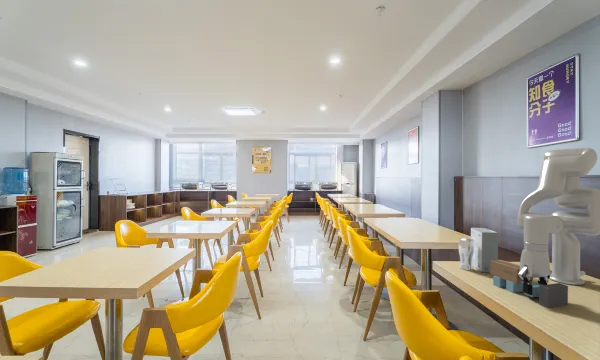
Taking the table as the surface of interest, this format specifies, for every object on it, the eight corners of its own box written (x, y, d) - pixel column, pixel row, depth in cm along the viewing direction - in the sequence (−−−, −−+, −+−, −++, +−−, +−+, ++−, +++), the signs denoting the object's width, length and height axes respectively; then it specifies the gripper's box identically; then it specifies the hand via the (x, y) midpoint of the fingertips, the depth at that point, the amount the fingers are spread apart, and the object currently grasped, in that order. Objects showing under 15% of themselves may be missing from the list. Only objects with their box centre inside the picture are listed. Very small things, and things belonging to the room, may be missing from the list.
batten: (537, 292, 117) (537, 283, 117) (545, 295, 114) (545, 285, 114) (524, 294, 115) (524, 284, 115) (532, 297, 112) (532, 287, 112)
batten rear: (505, 283, 130) (505, 274, 130) (512, 285, 127) (512, 276, 127) (493, 284, 128) (493, 275, 128) (499, 287, 125) (499, 278, 125)
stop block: (558, 301, 111) (558, 283, 111) (567, 304, 108) (568, 285, 108) (539, 304, 108) (539, 285, 108) (547, 307, 106) (548, 288, 106)
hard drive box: (498, 273, 144) (498, 232, 143) (481, 272, 145) (481, 232, 145) (485, 264, 159) (485, 227, 159) (469, 263, 160) (470, 227, 160)
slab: (500, 273, 132) (500, 259, 132) (527, 282, 120) (528, 267, 120) (490, 274, 130) (490, 260, 130) (516, 283, 119) (516, 268, 119)
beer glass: (455, 267, 153) (455, 238, 153) (464, 265, 156) (464, 237, 156) (467, 271, 147) (467, 241, 147) (477, 269, 150) (477, 240, 149)
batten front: (519, 288, 124) (519, 279, 124) (526, 291, 121) (526, 281, 121) (506, 290, 122) (506, 280, 122) (513, 292, 120) (513, 282, 119)
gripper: (541, 243, 120) (541, 287, 121) (509, 246, 116) (508, 291, 116) (562, 248, 113) (562, 294, 113) (528, 251, 109) (528, 299, 109)
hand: (535, 292), depth 115 cm, fingers closed on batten, 7 cm apart
